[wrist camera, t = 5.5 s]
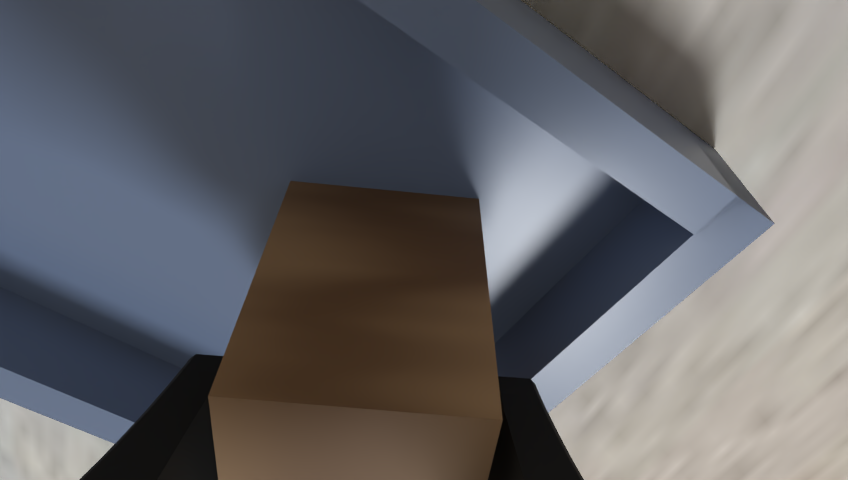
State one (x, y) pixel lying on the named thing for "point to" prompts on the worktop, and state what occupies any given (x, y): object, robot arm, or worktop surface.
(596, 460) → the worktop surface
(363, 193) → the walnut block
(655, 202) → the slate blue tray
